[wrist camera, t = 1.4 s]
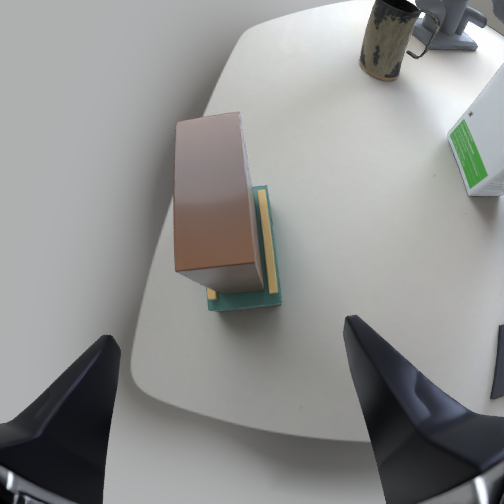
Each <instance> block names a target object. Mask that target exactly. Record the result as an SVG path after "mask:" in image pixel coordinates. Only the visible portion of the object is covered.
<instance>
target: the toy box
mask: <svg viewBox="0 0 504 504" xmlns="http://www.w3.org/2000/svg"><path fill="white" fill-rule="evenodd" d="M252 188H253V194H254V200H255V209H256V218H257V226H258V235H259V244H260V253H261V262H262V272H263V281H264V291H256V292H246V293H237V294H227V295H222V294H220V293H218V292H216V291H214V290H212V289H210V288H207V300H208V310H210V311H228V310H238V309H249V308H258V307H268V306H276V305H281V303H282V300H281V291H280V282H279V274H278V265H277V257H276V249H275V241H274V233H273V225H272V218H271V210H270V203H269V195H268V188H267V185H265V186H256V187H252Z"/></svg>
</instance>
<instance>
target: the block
mask: <svg viewBox="0 0 504 504" xmlns="http://www.w3.org/2000/svg"><path fill="white" fill-rule="evenodd" d="M174 257H175V271H176V272H177V273H179V274H181V275H183V276H185V277H187V278H189V279H191V280H193V281H195V282H197V283H199V284H201V285H203V286H205V287H207V288H210V289H212V290H214V291H216V292H218V293H220V294H222V295H227V294H237V293H246V292H256V291H264V281H263V272H262V262H261V253H260V244H259V235H258V226H257V218H256V209H255V200H254V194H253V188H252V182H251V176H250V170H249V164H248V158H247V152H246V146H245V141H244V135H243V129H242V123H241V118H240V113H239V112H232V113H225V114H219V115H213V116H207V117H201V118H196V119H191V120H186V121H181V122H177V123H176V133H175V156H174Z"/></svg>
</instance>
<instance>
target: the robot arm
mask: <svg viewBox="0 0 504 504" xmlns="http://www.w3.org/2000/svg"><path fill="white" fill-rule="evenodd" d="M343 337H344V342H345V347H346V352H347V357H348V362H349V367H350V372H351V376H352V379H353V382H354V386H355V389H356V392H357V395H358V398H359V402H360V405H361V408H362V412H363V415H364V419H365V422H366V426H367V429H368V433H369V436H370V440H371V444H372V447H373V451H374V455H375V459H376V462H377V466H378V471H379V475H380V479H381V483H382V487H383V491H384V496H385V500H386V504H504V417H498V416H489V415H481V414H477V413H474V412H472V411H470V410H468V409H467V408H465V407H464V406H463V405H461V404H460V403H458V402H457V401H456V400H454V399H453V398H452V397H450V396H449V395H447V394H446V393H445V392H443V391H442V390H441V389H440V388H438V387H437V386H436V385H434V384H433V383H432V382H431V381H430V380H429V379H428V378H426V377H425V376H424V375H423V374H422V373H421V372H420V371H418V370H417V369H416V368H415V367H414V366H413V365H412V364H411V363H410V362H409V361H408V360H407V359H405V358H404V357H403V356H402V355H401V354H400V353H399V352H398V351H397V350H395V349H394V348H393V347H392V346H391V345H390V344H389V343H388V342H387V341H385V340H384V339H383V338H382V337H381V336H380V335H379V334H378V333H377V332H375V331H374V330H373V329H372V328H371V327H370V326H369V325H368V324H366V323H365V322H364V321H363V320H362V319H361V318H360V317H359V316H357V315H352V316H347V317H346V318H345V323H344V330H343ZM120 357H121V350H120V347H119V346H118V344H117V343H116V341H115V339H114V338H113V336H111V335H103V336H101V337H100V338H99V339H98V340H97V341H96V342H95V343H94V344H93V345H91V346H90V347H89V348H88V349H87V350H86V351H85V352H84V353H83V354H82V355H81V356H80V357H79V358H78V359H77V360H76V361H75V362H74V363H73V364H72V365H71V366H70V367H69V368H68V369H66V370H65V371H64V372H63V373H62V374H61V376H59V377H58V378H57V379H56V380H55V381H54V382H53V383H52V384H51V385H50V386H49V388H47V389H46V390H45V391H44V392H43V393H42V394H41V395H40V396H39V397H38V398H37V399H36V400H35V401H34V402H33V403H32V404H30V405H29V406H28V407H27V408H26V409H25V410H24V411H22V412H21V413H20V414H19V415H18V416H17V417H15V418H14V419H13V420H11V421H9V422H7V423H2V424H0V504H103V489H104V477H105V465H106V455H107V447H108V440H109V433H110V426H111V419H112V414H113V407H114V402H115V397H116V391H117V384H118V377H119V366H120Z"/></svg>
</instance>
